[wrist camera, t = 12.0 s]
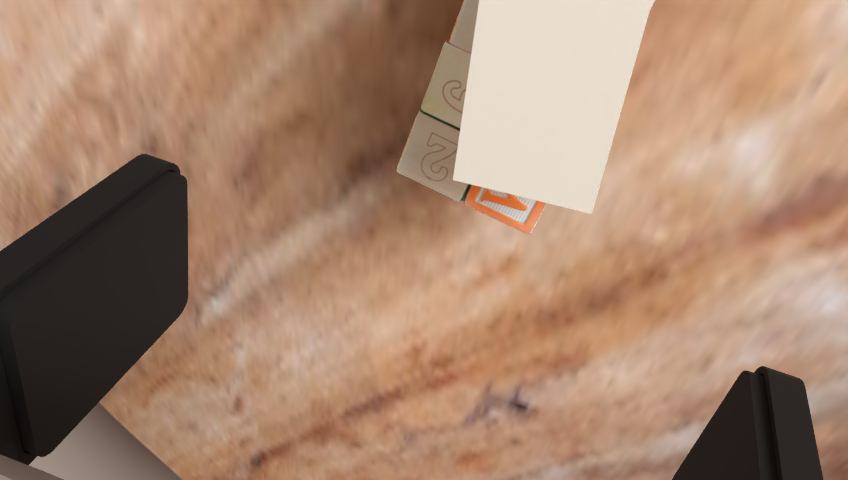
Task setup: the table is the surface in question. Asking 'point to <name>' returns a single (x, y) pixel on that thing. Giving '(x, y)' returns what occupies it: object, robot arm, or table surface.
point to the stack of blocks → (457, 134)
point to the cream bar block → (547, 96)
